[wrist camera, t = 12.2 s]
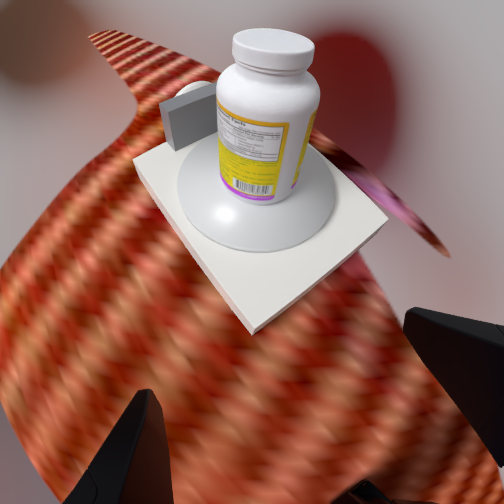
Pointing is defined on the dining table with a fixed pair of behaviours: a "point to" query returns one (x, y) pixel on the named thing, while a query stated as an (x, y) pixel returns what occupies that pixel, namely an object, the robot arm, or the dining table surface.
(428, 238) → the dining table surface
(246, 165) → the supplement bottle
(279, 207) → the kitchen scale
